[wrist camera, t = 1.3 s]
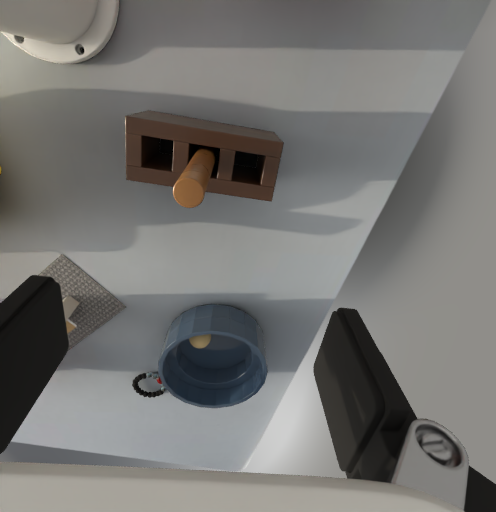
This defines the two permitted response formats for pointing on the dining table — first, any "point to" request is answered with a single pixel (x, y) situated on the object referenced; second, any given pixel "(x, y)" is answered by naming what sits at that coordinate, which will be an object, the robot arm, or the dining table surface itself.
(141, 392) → the bracelet
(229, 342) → the mixing bowl
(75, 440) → the dining table surface
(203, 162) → the stick
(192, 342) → the dough ball
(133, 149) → the rack
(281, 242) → the dining table surface
